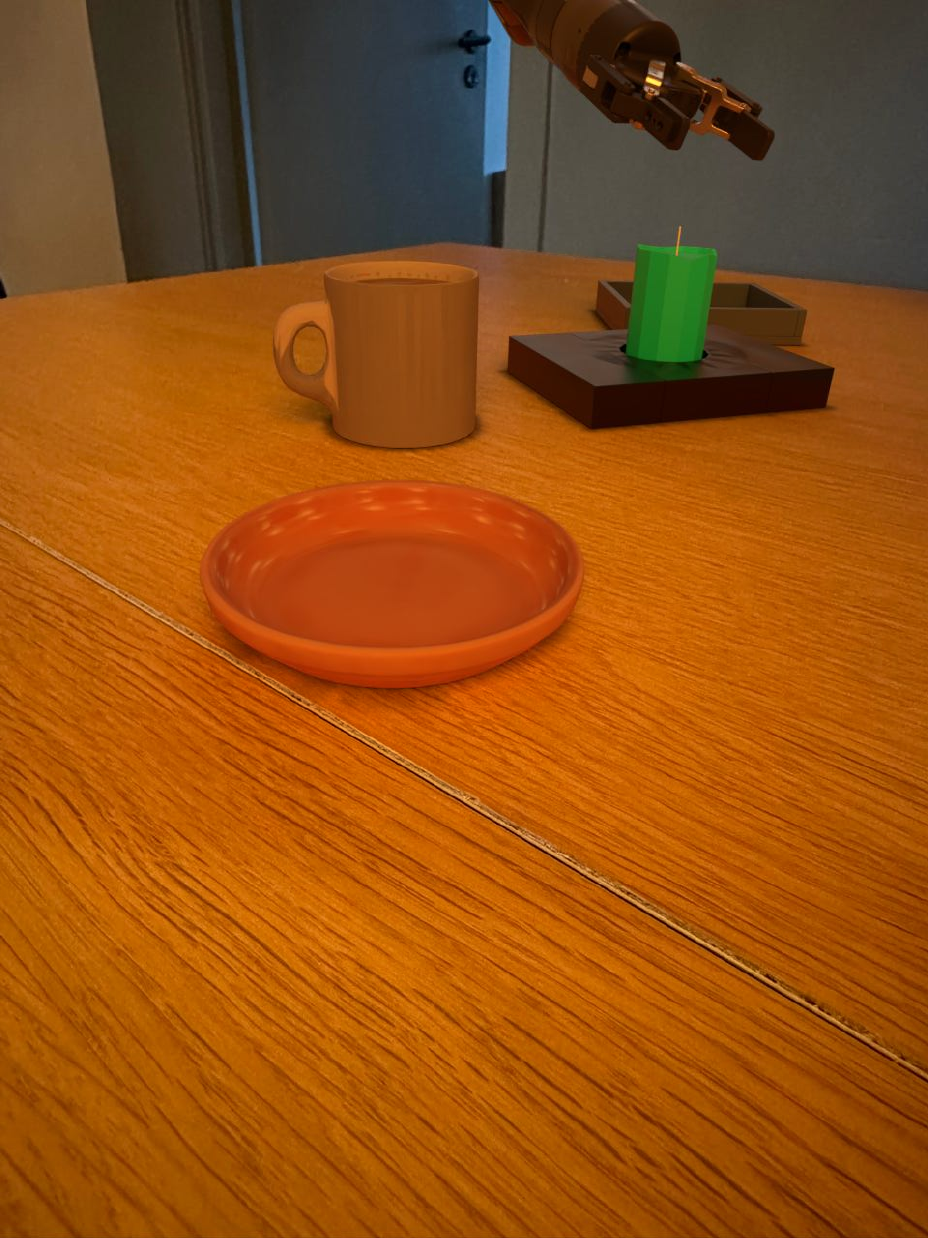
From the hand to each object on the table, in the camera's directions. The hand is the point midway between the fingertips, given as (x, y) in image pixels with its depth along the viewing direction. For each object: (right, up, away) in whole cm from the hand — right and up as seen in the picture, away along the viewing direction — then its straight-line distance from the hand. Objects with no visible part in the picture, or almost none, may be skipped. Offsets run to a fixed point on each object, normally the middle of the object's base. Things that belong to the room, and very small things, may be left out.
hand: (725, 142), depth 64 cm
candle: (-4, -17, +6) cm, 18 cm away
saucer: (-22, -35, -26) cm, 49 cm away
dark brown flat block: (-4, -16, +6) cm, 18 cm away
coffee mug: (-25, -22, -3) cm, 33 cm away
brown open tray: (+5, -4, +27) cm, 28 cm away
